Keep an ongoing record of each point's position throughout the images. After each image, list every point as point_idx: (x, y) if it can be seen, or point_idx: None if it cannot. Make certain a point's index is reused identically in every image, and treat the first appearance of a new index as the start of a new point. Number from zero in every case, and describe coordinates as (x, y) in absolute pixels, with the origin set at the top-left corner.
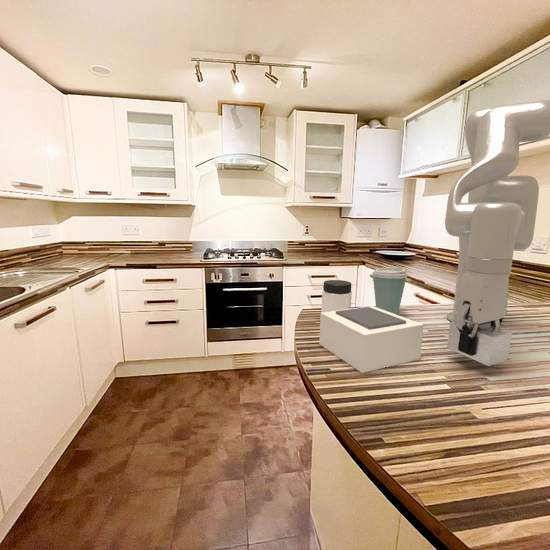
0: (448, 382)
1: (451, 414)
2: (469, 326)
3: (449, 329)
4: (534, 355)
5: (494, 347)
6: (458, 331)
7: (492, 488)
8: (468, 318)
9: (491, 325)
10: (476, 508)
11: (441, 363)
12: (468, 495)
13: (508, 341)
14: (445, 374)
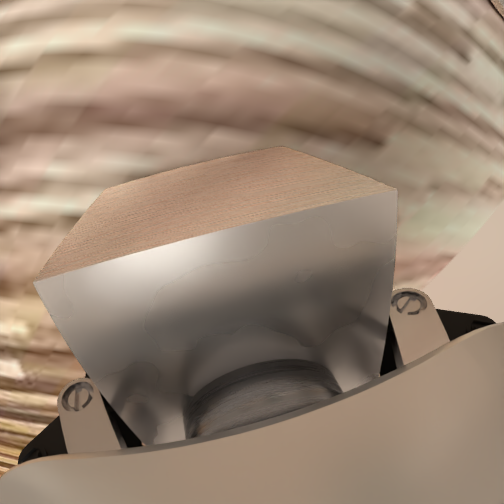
0: (27, 356)
1: (5, 431)
2: (180, 404)
3: (64, 241)
4: (467, 219)
5: None
6: (60, 395)
7: None
8: (391, 196)
9: (394, 362)
10: None
11: (61, 228)
12: None
13: None
14: (35, 315)
